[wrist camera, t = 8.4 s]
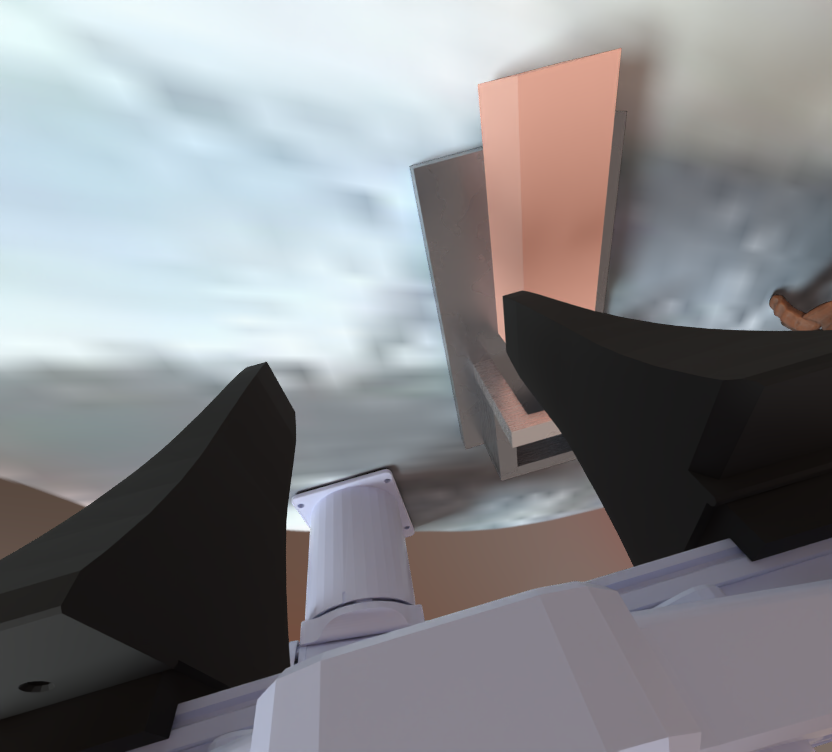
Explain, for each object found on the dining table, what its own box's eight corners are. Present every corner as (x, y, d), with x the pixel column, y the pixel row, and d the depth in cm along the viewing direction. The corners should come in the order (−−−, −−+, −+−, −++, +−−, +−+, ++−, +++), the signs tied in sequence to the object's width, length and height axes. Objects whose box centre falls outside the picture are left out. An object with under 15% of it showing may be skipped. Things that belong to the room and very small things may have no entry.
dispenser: (584, 404, 29) (647, 477, 23) (462, 439, 28) (495, 522, 23) (613, 111, 17) (754, 108, 11) (409, 166, 17) (448, 191, 11)
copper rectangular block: (553, 317, 22) (590, 351, 19) (498, 333, 22) (526, 370, 19) (559, 62, 15) (621, 47, 12) (477, 84, 15) (517, 75, 12)
